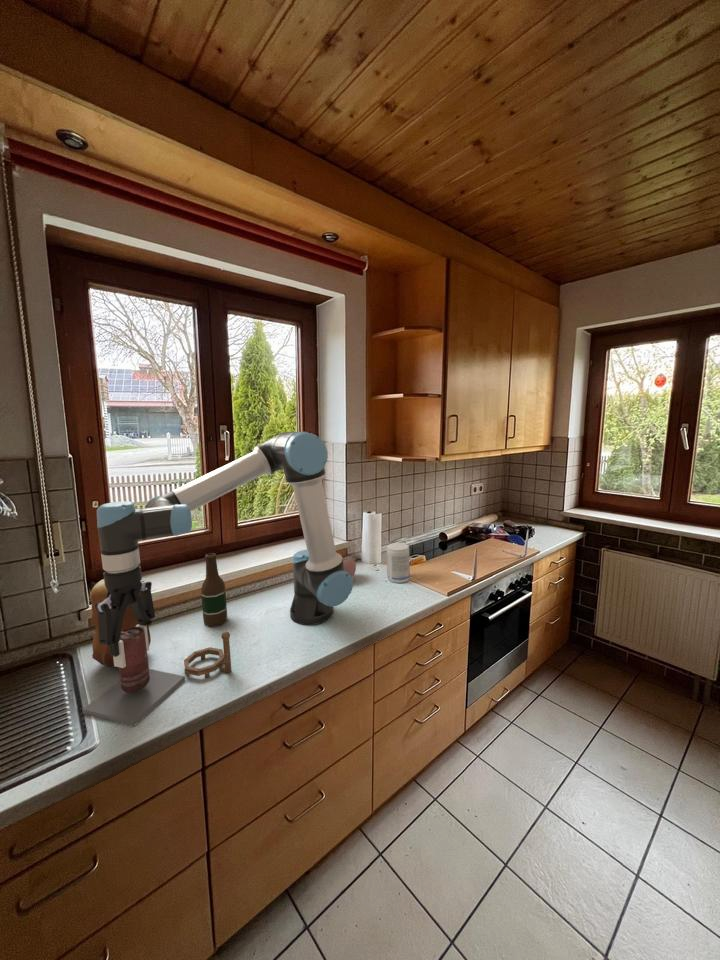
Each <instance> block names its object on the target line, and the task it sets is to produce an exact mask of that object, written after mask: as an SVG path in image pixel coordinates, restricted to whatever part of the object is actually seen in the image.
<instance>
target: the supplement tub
mask: <svg viewBox="0 0 720 960" xmlns="http://www.w3.org/2000/svg"><path fill="white" fill-rule="evenodd" d="M386 546H387V547H386V566H387V567H386V568H387V570H386V572H387V573H386V574H387V580H388V581H389V582H392V583H396V584H404V583H406V582H408V581H410V579H411V573H410V572H411V570H410V569H411V567H410V563H411V562H410V561H411V560H410V558H411V557H410V553H411V552H410V545H408V544H406V543H402V542H394V543H390V544H388V545H386Z"/></svg>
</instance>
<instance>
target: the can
mask: <svg viewBox="0 0 720 960" xmlns="http://www.w3.org/2000/svg"><path fill="white" fill-rule="evenodd" d="M120 640H122V641H123V645H124V653H125V662H126V667H124V668H120V667H118V674H119V682H121V688H122V690H123V691H125V692H127V693H131V692H136V691H139V690H141V689H142V688H144V687H145V686H146V685H147V684H148V682H149V680H150V675H149V669H150V667H149V659H148V651H147V648H146V639H145V632H144V631H143V629H142V628H140V627H132V628H128V629H125V630H123V631H121V635H120Z"/></svg>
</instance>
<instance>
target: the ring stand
mask: <svg viewBox="0 0 720 960" xmlns="http://www.w3.org/2000/svg"><path fill="white" fill-rule="evenodd" d="M220 638H221V639H222V647H223V648H222V649H221V648H216V647H205V648H203V649H199V650H195V651H193V652H192V653H191V654H190V655H188V656H187V657H186V658H184V660H183V663H184V674H185V675H191V676H196V677H200V676H203V675H204V678H205V679H207V678H209V677H211V676H210V675H211V674H210V673H213V672H216V671H217V670H219V671H224V673H225V674H226V675H229V674H231V673H232V658H231V647H230V638H231V633H230V632H229V631H223V632H222V633H221V637H220ZM207 655H213V656H218V659H217V660H216V661H215V662H214V663H213V664H210V665H207V666H204V667H200V668H199V667H193V666H190V664H191V663H192V662H194V661H195V659H197V658H200V660H201V661H204V660H206V656H207Z"/></svg>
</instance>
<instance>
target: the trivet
mask: <svg viewBox="0 0 720 960" xmlns="http://www.w3.org/2000/svg"><path fill="white" fill-rule="evenodd" d="M149 675H150V680H149V682H148V684H147V685H146V686H145V687H144V688H142V689H141V690H139V691H136V692H131V693H127V692H125V691H123V690H122V688H121V682H120V681H118V682H117V683H115V684H114V685H113V686H111V687H110V688H108V689H107V690H106V691H105V692H103V693H102V694H101V695H99V696H98V697H97V698H95V699H94V700H92V701H91V702H90V703H88V704H87V705H86V706H84V707H83V708H81V709H82V714H83V715H87V716H90V717H94V718H99V719H102V720H106V721H109V722H114V723H117V722H118V724H121V723H123V724H122V725H125V724H128V725H127V726H129V725H132V726H131V727H133V726H134V725H135V724H136V723H137V722H138V723H140V722H141V721H142V720H143V719H144V718H145V717H147V716H148V714H150V713H149V712H150V711H151V710H152V709H153V708H154V707H155V708H156V707H157V706H159V704H161V703H162V702H163V701H164V700H165V699H167V697H168V696H169V695H171V694H172V693H173V692H174V691H175V690H176V689H177V688H179V686H181V685H182V684H183V683H184V682H185V681H186V677H185V675H181V674H175V673H171V672H165V671H161V670H155V669H150V668H149ZM160 702H161V703H160ZM155 708H154V709H155ZM154 709H153V710H154ZM153 710H152V711H153ZM152 711H151V712H152ZM144 716H145V717H144ZM143 717H144V718H143ZM142 718H143V719H142ZM141 719H142V720H141ZM140 720H141V721H140ZM139 721H140V722H139ZM138 723H137V724H138ZM137 724H136V725H137ZM136 725H135V726H136ZM135 726H134V727H135Z"/></svg>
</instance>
